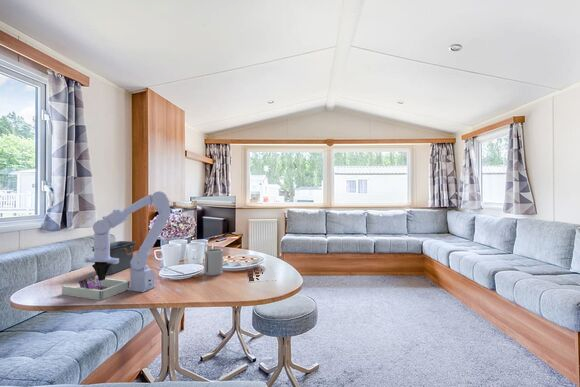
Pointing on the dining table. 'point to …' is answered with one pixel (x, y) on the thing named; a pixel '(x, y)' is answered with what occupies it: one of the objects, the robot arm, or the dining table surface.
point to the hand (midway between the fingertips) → (101, 279)
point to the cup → (213, 261)
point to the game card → (90, 283)
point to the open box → (113, 289)
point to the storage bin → (120, 255)
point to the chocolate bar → (250, 274)
